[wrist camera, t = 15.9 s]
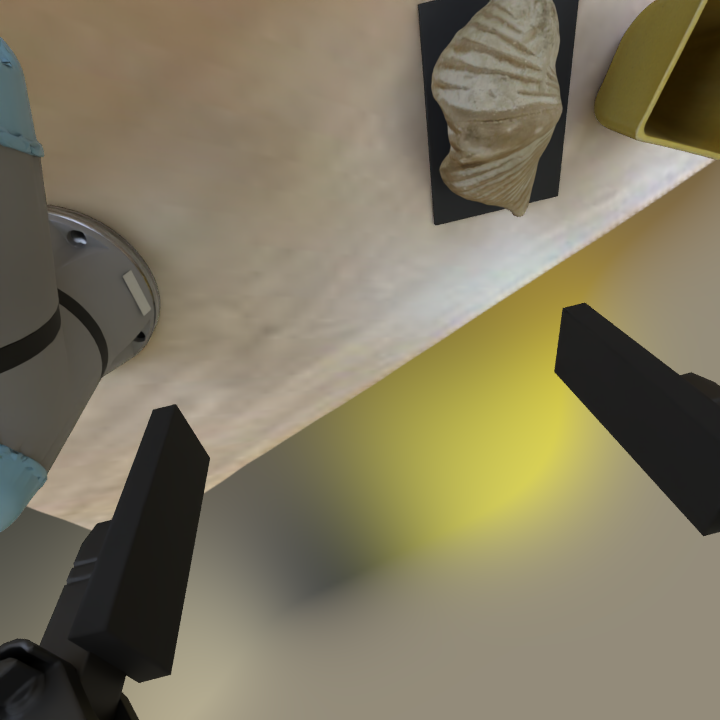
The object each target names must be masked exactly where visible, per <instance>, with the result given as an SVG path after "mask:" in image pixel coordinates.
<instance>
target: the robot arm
mask: <svg viewBox="0 0 720 720" xmlns="http://www.w3.org/2000/svg"><path fill="white" fill-rule="evenodd" d="M41 157H44V150H43V147H42V145H41V144H40V143H39V142H38V141H37V139H36V135H35V130H34V124H33V119H32V114H31V109H30V103H29V98H28V93H27V88H26V83H25V77H24V74H23V70H22V68H21V65H20V63H19V61H18V59H17V58H16V56H15V54H14V52H13V51H12V50H11V49H10V47H9V46H8V45H7V43H6V42H5V41H4V40H3V39H2V38H1V37H0V532H1V531H3V530H4V529H6V528H7V527H8V526H10V525H11V524H12V523H13V522H14V521H15V520H16V519H17V518H18V516H19V515H20V514H21V513H22V511H23V510H24V508H25V507H26V506H27V504H28V503H29V501H30V500H31V499H32V497H33V496H34V495H35V494H36V492H37V491H38V490H39V489H40V488H41V487H42V486H43V485H44V483H45V482H46V480H47V474H48V472H49V470H50V468H51V467H52V465H53V463H54V461H55V460H56V458H57V456H58V454H59V452H60V451H61V449H62V447H63V445H64V444H65V442H66V440H67V438H68V437H69V435H70V433H71V431H72V430H73V428H74V426H75V424H76V422H77V421H78V419H79V417H80V415H81V414H82V412H83V410H84V408H85V407H86V405H87V403H88V401H89V399H90V398H91V396H92V394H93V392H94V391H95V389H96V387H97V385H98V383H99V382H100V380H101V378H102V377H103V376H105V375H106V374H108V373H109V372H111V371H113V370H114V369H116V368H117V367H119V366H120V365H122V364H123V363H125V362H126V361H128V360H130V359H131V358H133V357H134V356H135V355H137V354H138V353H139V352H140V351H141V350H142V349H143V348H144V347H145V345H146V344H147V342H148V341H149V339H150V337H151V335H152V333H153V331H154V329H155V327H156V324H157V322H158V318H159V313H160V298H159V292H158V288H157V285H156V282H155V279H154V277H153V275H152V273H151V271H150V269H149V268H148V266H147V264H146V263H145V261H144V260H143V259H142V257H141V256H140V255H139V254H138V252H137V251H136V250H135V249H134V248H133V247H132V246H131V245H130V244H129V243H128V242H127V241H126V240H125V239H123V238H122V237H121V236H120V235H119V234H117V233H116V232H114V231H113V230H112V229H110V228H109V227H107V226H105V225H104V224H102V223H100V222H99V221H97V220H95V219H93V218H91V217H88V216H86V215H84V214H82V213H79V212H76V211H73V210H70V209H66V208H63V207H58V206H53V205H47V204H46V197H45V189H44V181H43V173H42V165H41ZM554 371H555V373H556V374H557V375H558V376H559V377H560V379H562V381H563V382H564V383H565V384H566V385H567V386H568V387H569V388H570V390H571V391H572V392H573V393H574V394H575V395H576V396H577V397H578V398H579V399H580V401H581V402H582V403H583V404H584V405H585V406H586V407H587V408H588V409H589V410H590V412H591V413H592V414H593V415H594V416H595V417H596V418H597V419H598V420H599V422H600V423H601V424H602V425H603V426H604V427H605V428H606V429H607V430H608V431H609V433H610V434H611V435H612V436H613V437H614V438H615V439H616V440H617V441H618V442H619V444H620V445H621V446H622V447H623V448H624V449H625V450H626V451H627V452H628V454H629V455H631V457H632V458H633V459H634V460H635V461H636V462H637V463H638V465H640V467H641V468H642V469H643V470H644V471H645V472H646V473H647V474H648V476H649V477H650V478H651V479H652V480H653V481H654V482H655V483H656V484H657V486H659V488H660V489H661V490H662V491H663V492H664V493H665V494H666V495H667V497H668V498H669V499H670V500H671V501H672V502H673V503H674V504H675V505H676V506H677V508H678V509H679V510H680V511H681V512H682V513H683V514H684V515H685V516H686V517H687V519H688V520H689V521H690V522H691V523H692V524H693V525H694V526H695V527H696V528H697V530H698V531H699V532H700V533H701V534H702V535H703V536H706V535H710V534H713V533H717V532H720V386H719V385H717V384H716V383H715V382H713V381H711V380H708V379H706V378H703V377H701V376H699V375H696V374H694V373H688V374H683V375H679V374H677V373H676V372H675V371H673V370H672V369H671V368H670V367H668V366H667V365H666V364H664V363H663V362H662V361H660V360H659V359H658V358H656V357H655V356H654V355H653V354H651V353H650V352H649V351H647V350H646V349H645V348H643V347H642V346H641V345H639V344H638V343H637V342H636V341H634V340H633V339H632V338H630V337H629V336H628V335H626V334H625V333H624V332H623V331H621V330H620V329H619V328H617V327H616V326H614V325H613V324H612V323H611V322H609V321H608V320H607V319H606V318H604V317H603V316H602V315H600V314H599V313H598V312H596V311H595V310H594V309H592V308H591V307H590V306H589V305H587V304H586V303H582V304H578V305H574V306H570V307H565V308H563V310H562V317H561V325H560V333H559V340H558V348H557V356H556V363H555V370H554ZM209 461H210V457H209V456H208V454H207V452H206V451H205V449H204V448H203V446H202V445H201V443H200V441H199V440H198V438H197V437H196V435H195V433H194V432H193V430H192V429H191V427H190V425H189V424H188V422H187V421H186V419H185V418H184V416H183V414H182V413H181V411H180V410H179V408H178V406H177V405H176V404H175V405H171V406H166V407H162V408H158V409H154V410H153V411H152V414H151V417H150V419H149V422H148V425H147V427H146V430H145V433H144V435H143V438H142V441H141V443H140V446H139V449H138V451H137V454H136V457H135V459H134V462H133V465H132V467H131V470H130V473H129V475H128V478H127V481H126V483H125V486H124V489H123V491H122V494H121V497H120V499H119V502H118V505H117V507H116V510H115V513H114V515H113V518H112V520H109V521H105V522H101V523H97V524H96V526H95V527H94V528H93V530H92V531H91V532H90V534H89V535H88V536H87V538H86V539H85V540H84V542H83V543H82V545H81V547H80V550H79V552H78V555H77V557H76V559H75V562H74V568H72V569H71V571H70V574H69V576H68V579H67V585H65V586H64V588H63V590H62V593H61V595H60V598H59V600H58V602H57V605H56V607H55V610H54V612H53V614H52V617H51V619H50V622H49V624H48V626H47V629H46V631H45V634H44V636H43V638H42V641H41V643H40V645H37V644H35V643H33V642H31V641H30V640H27V639H15V640H12V641H10V642H7V643H4V644H3V645H1V646H0V720H139V719H138V717H137V715H136V713H135V711H134V710H133V707H132V705H131V703H130V701H129V699H128V698H127V697H126V696H125V695H124V694H123V693H122V689H123V685H124V681H125V677H126V675H127V676H128V677H130V678H132V679H133V680H135V681H137V682H138V683H141V682H144V681H148V680H152V679H156V678H160V677H163V676H167V675H171V671H172V665H173V659H174V654H175V648H176V643H177V637H178V632H179V626H180V621H181V615H182V610H183V604H184V599H185V593H186V588H187V582H188V577H189V571H190V565H191V560H192V555H193V549H194V544H195V538H196V532H197V527H198V522H199V516H200V511H201V505H202V500H203V494H204V489H205V483H206V478H207V472H208V467H209Z"/></svg>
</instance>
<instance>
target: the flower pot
mask: <svg viewBox="0 0 720 720" xmlns="http://www.w3.org/2000/svg"><path fill="white" fill-rule="evenodd" d="M594 113H595V116H596V119H597V120H598V122H599V123H600V124H601V125H603V126H604V127H606V128H608V129H610V130H613V131H615V132H618V133H620V134H623V135H625V136H628V137H630V138H633V139H635V140H638V141H642V142H646V143H651V144H656V145H660V146H665V147H669V148H673V149H677V150H681V151H685V152H689V153H693V154H697V155H701V156H704V157H708V158H712V159H715V160H720V0H656V1H654V2H653V3H651V4H650V5H649V6H648V7H646V8H645V9H644V10H643V11H642V12H641V13H640V14H639V15H638V16H637V18H636V19H635V20H634V21H633V23H632V24H631V25H630V27H629V28H628V30H627V31H626V32H625V34H624V36H623V37H622V39H621V42H620V44H619V46H618V49H617V51H616V53H615V56H614V58H613V60H612V62H611V65H610V67H609V70H608V72H607V74H606V76H605V79H604V81H603V83H602V85H601V88H600V90H599V92H598V94H597V97H596V99H595V104H594Z"/></svg>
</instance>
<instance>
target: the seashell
mask: <svg viewBox="0 0 720 720" xmlns="http://www.w3.org/2000/svg"><path fill="white" fill-rule="evenodd" d="M559 44H560V35H559V22H558V16H557V12H556V8H555V5H554V3H553V0H490V2H489V3H488V4H487V5H486V6H485V7H483V8H482V9H481V10H479V11H478V12H477V13H476V14H475V15H474V16H473V17H472V18H471V20H470V21H469V22H468V23H467V25H466V26H464V27H463V28H462V29H460V30H459V31H458V32H457V33H456V34H455V36H454V38H453V39H452V41H451V42H450V43H449V44H448V46H447V47H446V48H445V49H444V51H443V52H442V53H441V55H440V57H439V59H438V61H437V63H436V64H435V66H434V70H433V73H432V84H431V88H432V93H433V97H434V99H435V100H436V101H437V102H438V104H439V106H440V108H441V109H442V111H443V114H444V117H445V119H446V122H447V124H448V137H449V142H450V145H451V148H450V152H449V154H448V155H447V156H446V157H445V159H444V160H443V161H442V163H441V166H440V169H439V170H440V174H441V178H442V180H443V182H444V183H445V184H446V185H447V186H448V188H449V189H450V190H451V191H452V192H453V193H455V194H457V195H458V196H461V197H463V198H465V199H467V200H471V201H477V202H481V203H483V204H486V205H495V206H499V207H503V208H506V209H508V210H510V211H511V212H512V214H513V215H514V216H516V217H521V216H523V215H524V214H525V212H526V210H527V207H528V203H529V200H530V195H531V190H532V186H533V183H534V179H535V175H536V171H537V165H538V161H539V158H540V157H541V155H542V153H543V152H544V150H545V149H546V147H547V145H548V143H549V141H550V139H551V136H552V134H553V131H554V129H555V126H556V123H557V122H558V121H559V118H560V116H561V113H562V109H563V108H562V103H561V98H560V88H559V84H558V80H557V76H556V68H555V63H556V58H557V55H558V50H559Z"/></svg>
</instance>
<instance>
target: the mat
mask: <svg viewBox="0 0 720 720" xmlns="http://www.w3.org/2000/svg"><path fill="white" fill-rule="evenodd" d="M578 1H579V0H553V3H554V5H555V8H556V12H557V16H558V22H559V35H560V44H559V50H558V55H557V58H556V63H555V68H556V76H557V80H558V84H559V88H560V98H561V103H562V108H563V109H562V113H561V116H560V118H559V121H558V122H557V123H556V126H555V129H554V131H553V134H552V136H551V139H550V141H549V143H548V145H547V147H546V149H545V150H544V152H543V153H542V155H541V157H540V158H539V161H538V165H537V171H536V175H535V179H534V183H533V186H532V190H531V195H530V200H529V203H531V202H535V201H539V200H543V199H547V198H552V197H556V196H558V191H559V181H560V172H561V162H562V153H563V143H564V134H565V124H566V115H567V105H568V96H569V86H570V77H571V67H572V58H573V48H574V39H575V29H576V20H577V10H578ZM489 2H490V0H435V1H430V2H426V3H422V4H419V5H418V11H419V25H420V38H421V52H422V65H423V79H424V92H425V105H426V119H427V132H428V146H429V159H430V172H431V186H432V199H433V213H434V224H435V225H440V224H444V223H448V222H452V221H456V220H460V219H465V218H469V217H473V216H477V215H481V214H485V213H489V212H494V211H498V210H502V209H506V208H503V207H499V206H495V205H486V204H483V203H481V202H477V201H471V200H467V199H465V198H463V197H461V196H458V195H457V194H455V193H453V192H452V191H451V190H450V189H449V188H448V186H447V185H446V184H445V183H444V182H443V180H442V178H441V174H440V170H439V169H440V166H441V163H442V161H443V160H444V159H445V157H446V156H447V155H448V154H449V152H450V148H451V145H450V142H449V137H448V124H447V122H446V119H445V117H444V114H443V111H442V109H441V108H440V106H439V104H438V102H437V101H436V100H435V99H434V97H433V93H432V88H431V84H432V73H433V70H434V66H435V64H436V63H437V61H438V59H439V57H440V55H441V53H442V52H443V51H444V49H445V48H446V47H447V46H448V44H449V43H450V42H451V41H452V39H453V38H454V36H455V34H456V33H457V32H458V31H459V30H460V29H462V28H463V27H464V26H466V25H467V23H468V22H469V21H470V20H471V18H472V17H473V16H474V15H475V14H476V13H477V12H478V11H479V10H481V9H482V8H483V7H485V6H486V5H487V4H488V3H489Z"/></svg>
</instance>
